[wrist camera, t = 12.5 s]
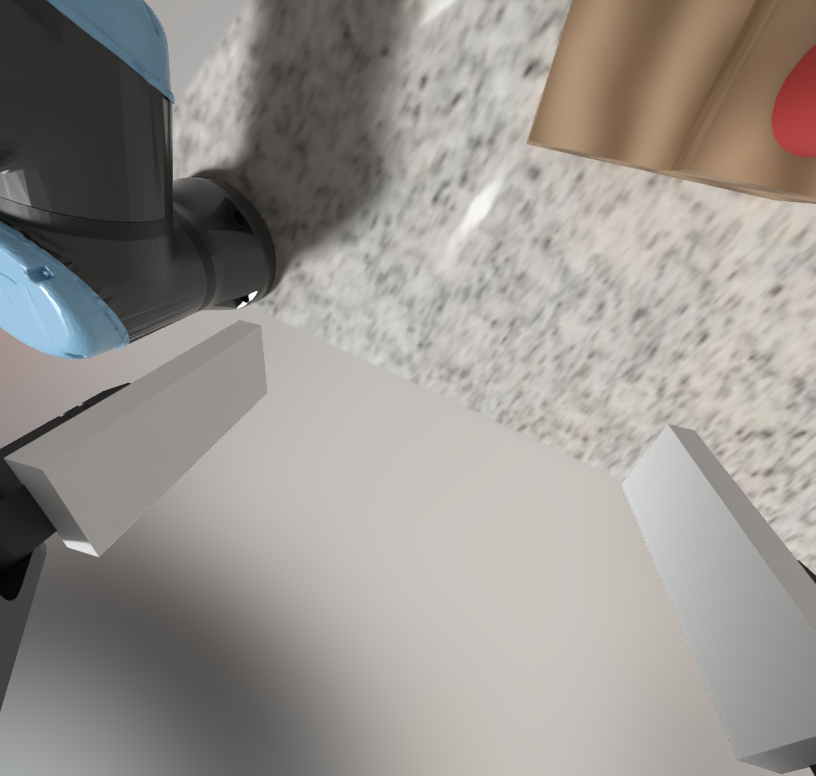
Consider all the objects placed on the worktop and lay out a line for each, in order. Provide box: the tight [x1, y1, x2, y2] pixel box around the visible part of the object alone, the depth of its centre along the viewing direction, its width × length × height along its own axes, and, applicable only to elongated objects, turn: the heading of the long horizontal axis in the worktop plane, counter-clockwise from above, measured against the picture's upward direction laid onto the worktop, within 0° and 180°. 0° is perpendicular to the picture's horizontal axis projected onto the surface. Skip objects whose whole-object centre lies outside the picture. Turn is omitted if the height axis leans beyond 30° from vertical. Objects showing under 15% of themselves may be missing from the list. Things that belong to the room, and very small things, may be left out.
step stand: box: [527, 0, 816, 204], centre depth 24 cm, size 22×10×8 cm, turn 78°
